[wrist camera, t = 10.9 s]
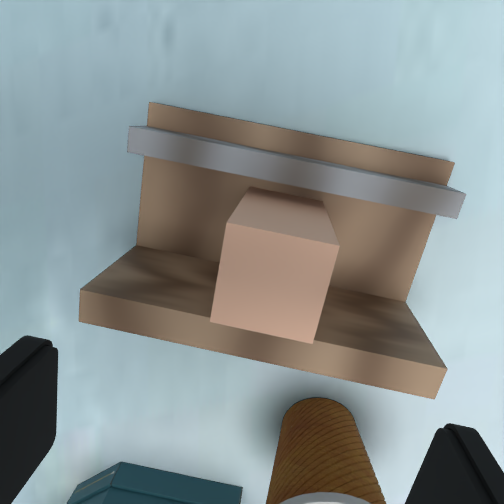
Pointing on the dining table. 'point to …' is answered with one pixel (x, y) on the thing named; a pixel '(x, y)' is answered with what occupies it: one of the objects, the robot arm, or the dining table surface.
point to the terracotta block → (275, 265)
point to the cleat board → (294, 183)
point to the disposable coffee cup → (322, 458)
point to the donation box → (151, 488)
